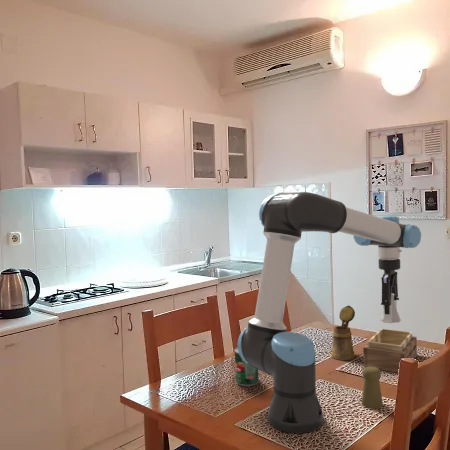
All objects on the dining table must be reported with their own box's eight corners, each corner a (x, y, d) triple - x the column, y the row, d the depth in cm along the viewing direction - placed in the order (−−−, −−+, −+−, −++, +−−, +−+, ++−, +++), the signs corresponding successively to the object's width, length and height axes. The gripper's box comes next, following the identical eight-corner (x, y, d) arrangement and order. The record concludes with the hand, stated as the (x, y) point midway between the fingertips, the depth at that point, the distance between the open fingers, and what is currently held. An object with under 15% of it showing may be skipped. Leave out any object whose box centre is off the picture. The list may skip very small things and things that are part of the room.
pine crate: (401, 368, 161) (401, 346, 161) (368, 363, 167) (367, 341, 167) (412, 353, 176) (412, 332, 176) (381, 348, 183) (381, 328, 182)
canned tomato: (263, 380, 158) (262, 348, 158) (248, 388, 152) (247, 355, 152) (245, 375, 164) (244, 344, 163) (230, 382, 158) (229, 350, 157)
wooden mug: (361, 351, 184) (360, 306, 183) (350, 361, 172) (349, 314, 171) (339, 347, 189) (338, 304, 187) (327, 358, 177) (326, 311, 176)
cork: (380, 410, 133) (379, 373, 132) (359, 406, 136) (358, 369, 136) (385, 402, 138) (384, 366, 138) (364, 398, 141) (364, 363, 141)
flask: (381, 323, 168) (380, 296, 168) (378, 318, 175) (378, 291, 175) (402, 323, 167) (402, 296, 166) (399, 318, 174) (398, 292, 173)
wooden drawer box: (404, 373, 159) (404, 353, 159) (363, 366, 167) (363, 347, 167) (416, 354, 177) (416, 336, 176) (379, 349, 185) (379, 332, 184)
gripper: (393, 262, 159) (394, 328, 161) (406, 255, 176) (407, 314, 177) (371, 261, 163) (372, 325, 165) (385, 254, 180) (386, 312, 181)
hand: (390, 319), depth 171 cm, fingers closed on flask, 7 cm apart
